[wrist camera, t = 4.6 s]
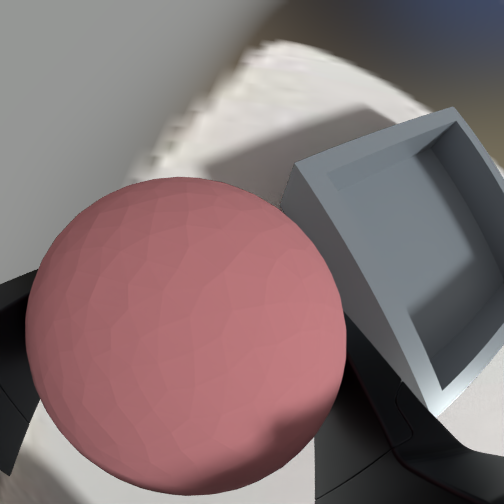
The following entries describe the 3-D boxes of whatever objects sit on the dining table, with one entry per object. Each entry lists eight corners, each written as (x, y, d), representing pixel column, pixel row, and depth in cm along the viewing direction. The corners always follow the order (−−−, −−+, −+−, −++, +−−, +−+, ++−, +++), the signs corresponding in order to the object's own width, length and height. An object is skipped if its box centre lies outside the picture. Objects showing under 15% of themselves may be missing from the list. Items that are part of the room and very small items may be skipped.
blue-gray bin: (388, 403, 14) (432, 420, 10) (279, 204, 17) (294, 162, 12) (505, 288, 16) (547, 276, 12) (423, 140, 19) (453, 106, 15)
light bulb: (265, 413, 14) (340, 579, 2) (131, 381, 14) (-47, 448, 2) (293, 281, 16) (430, 158, 4) (161, 252, 16) (39, 93, 4)
